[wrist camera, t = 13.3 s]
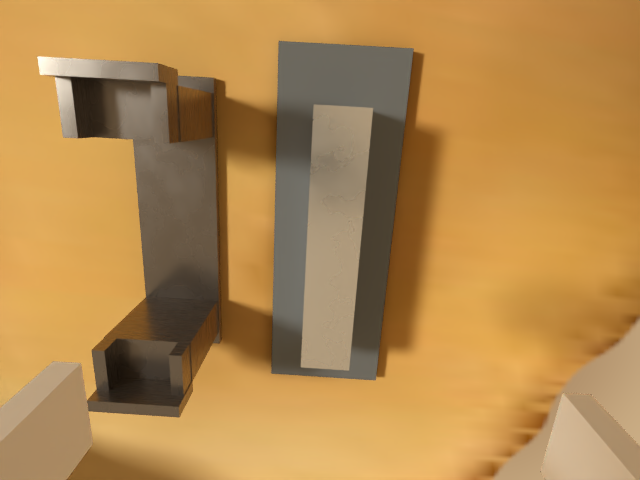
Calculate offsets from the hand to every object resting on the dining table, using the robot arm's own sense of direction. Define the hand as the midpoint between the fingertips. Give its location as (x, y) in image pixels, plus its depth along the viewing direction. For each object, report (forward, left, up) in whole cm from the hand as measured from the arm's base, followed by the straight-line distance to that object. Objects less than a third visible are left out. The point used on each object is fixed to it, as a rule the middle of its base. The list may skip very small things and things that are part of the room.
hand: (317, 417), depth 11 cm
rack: (0, -11, -21) cm, 24 cm away
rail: (0, +1, -20) cm, 20 cm away
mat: (0, +1, -21) cm, 21 cm away
